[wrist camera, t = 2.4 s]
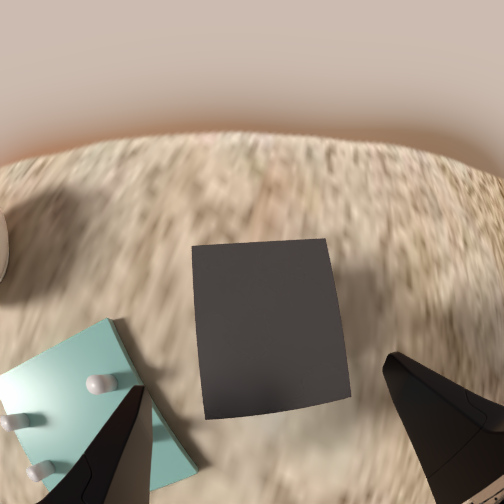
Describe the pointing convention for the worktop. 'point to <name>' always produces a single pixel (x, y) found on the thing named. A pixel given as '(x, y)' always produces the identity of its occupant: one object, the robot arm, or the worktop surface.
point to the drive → (267, 327)
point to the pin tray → (80, 406)
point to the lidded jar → (3, 246)
